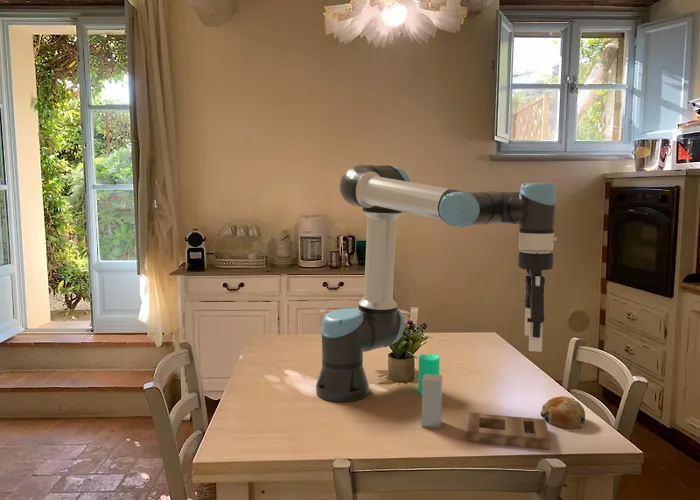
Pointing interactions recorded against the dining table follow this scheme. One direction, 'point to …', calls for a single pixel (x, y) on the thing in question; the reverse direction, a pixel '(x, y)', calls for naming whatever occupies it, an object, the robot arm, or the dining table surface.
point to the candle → (427, 367)
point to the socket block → (508, 431)
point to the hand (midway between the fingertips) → (532, 342)
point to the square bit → (431, 401)
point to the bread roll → (563, 412)
